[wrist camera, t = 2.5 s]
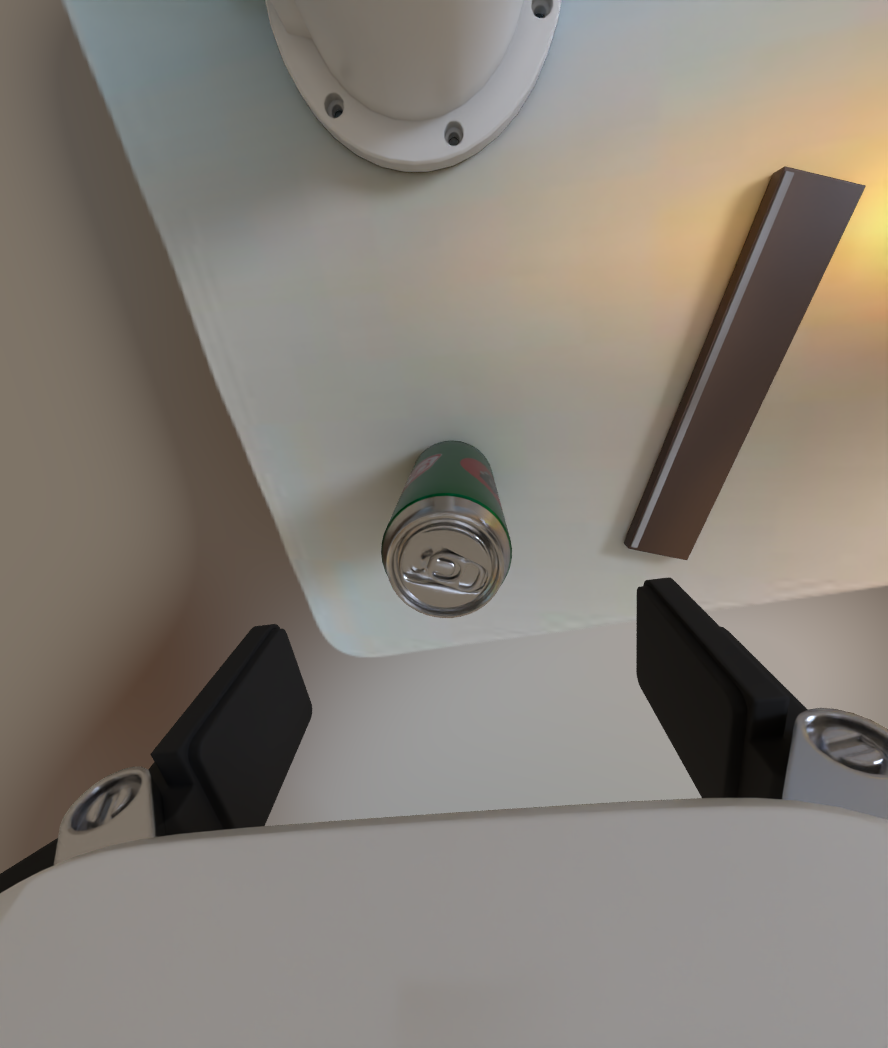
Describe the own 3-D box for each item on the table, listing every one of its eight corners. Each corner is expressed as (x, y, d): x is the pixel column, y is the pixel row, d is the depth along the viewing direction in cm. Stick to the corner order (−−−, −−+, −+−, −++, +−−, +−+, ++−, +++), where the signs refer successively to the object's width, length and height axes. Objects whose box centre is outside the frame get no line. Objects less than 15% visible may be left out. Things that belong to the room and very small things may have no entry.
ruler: (623, 543, 27) (628, 549, 26) (772, 172, 20) (786, 164, 19) (681, 555, 27) (688, 561, 26) (851, 191, 20) (868, 184, 19)
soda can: (427, 426, 25) (399, 482, 14) (504, 455, 25) (538, 531, 14) (402, 501, 27) (359, 603, 16) (474, 526, 27) (484, 643, 16)
